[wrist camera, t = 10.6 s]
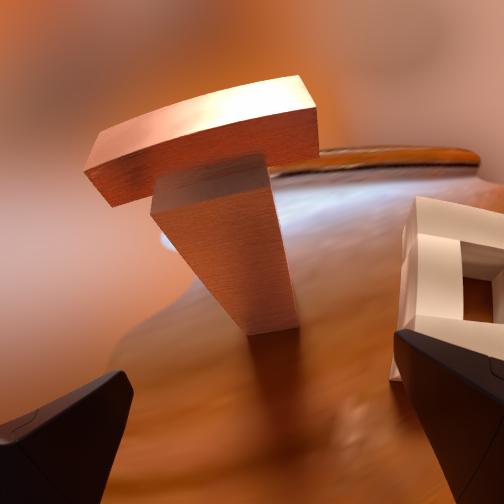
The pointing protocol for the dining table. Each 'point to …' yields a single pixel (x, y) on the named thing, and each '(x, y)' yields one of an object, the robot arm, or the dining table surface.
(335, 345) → the dining table surface
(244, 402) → the dining table surface
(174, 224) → the t key
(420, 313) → the slot block
